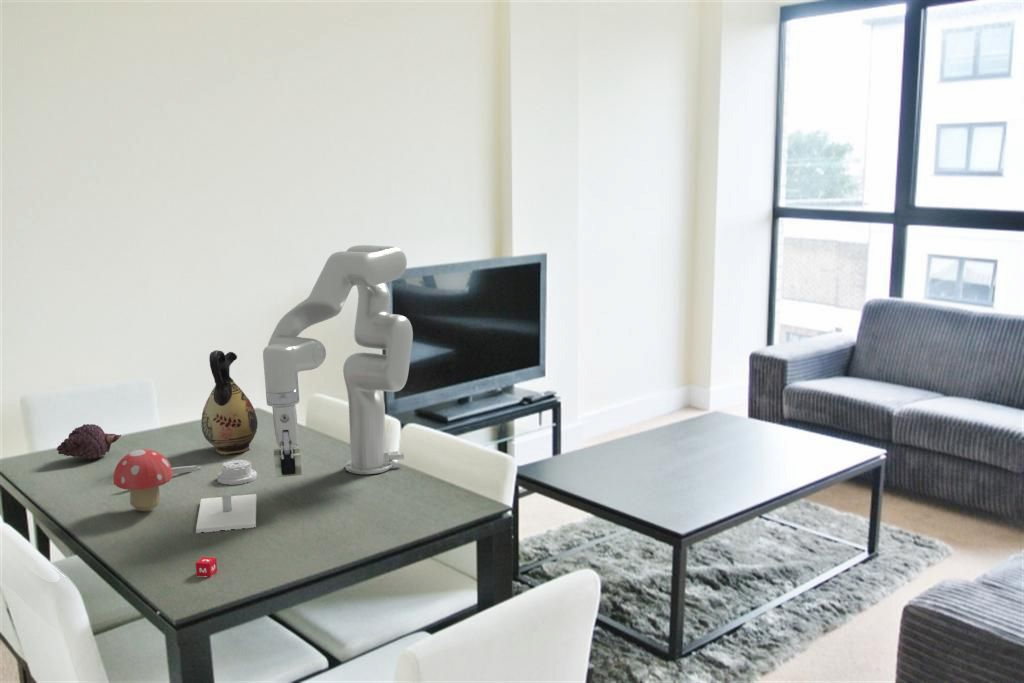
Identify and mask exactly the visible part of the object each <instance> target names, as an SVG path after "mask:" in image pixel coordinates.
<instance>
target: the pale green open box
mask: <svg viewBox="0 0 1024 683" xmlns="http://www.w3.org/2000/svg"><path fill="white" fill-rule="evenodd" d="M300 449H301V448H300V446H295V447H294V446H293V457H294V458H295V471H296V473H295V474H290V475H282V472H281V459H280V458H281V448H275V449H273V459H274V471H275V472H274V474H275V478H276V479H277V478H285V477H294V476H302V472H303V471H302V460H301V457H302V456H301V450H300ZM283 450H284V448H283ZM290 450H291V448H290Z"/></svg>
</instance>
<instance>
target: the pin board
mask: <svg viewBox="0 0 1024 683" xmlns="http://www.w3.org/2000/svg"><path fill="white" fill-rule="evenodd" d="M197 515H198V516H197V520H196V521H197V522H196V526H195V534H202V533H201V532H204V533H212V532H213V531H214V532H221V531H220V530H225V531H232V530H231V529H235V530H243V529H242V528H245V529H251V528H252V529H253V528H254V527H255V528H257V494H256V493H253V494H243V495H242V494H240V495H232V494H231V493H230V492H227V491H226V492H224V493H223V494H222V496H220V497H207V498H201V499H200V504H199V509H198V514H197Z"/></svg>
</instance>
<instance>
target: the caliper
mask: <svg viewBox="0 0 1024 683" xmlns="http://www.w3.org/2000/svg"><path fill="white" fill-rule="evenodd" d="M196 470H197V471H198V470H202V467H200V466H198V465H187V466H177V467H172V471H173V475H174V474H183V473H184V474H185V473H193V472H192V471H194V472H197V471H196Z"/></svg>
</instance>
